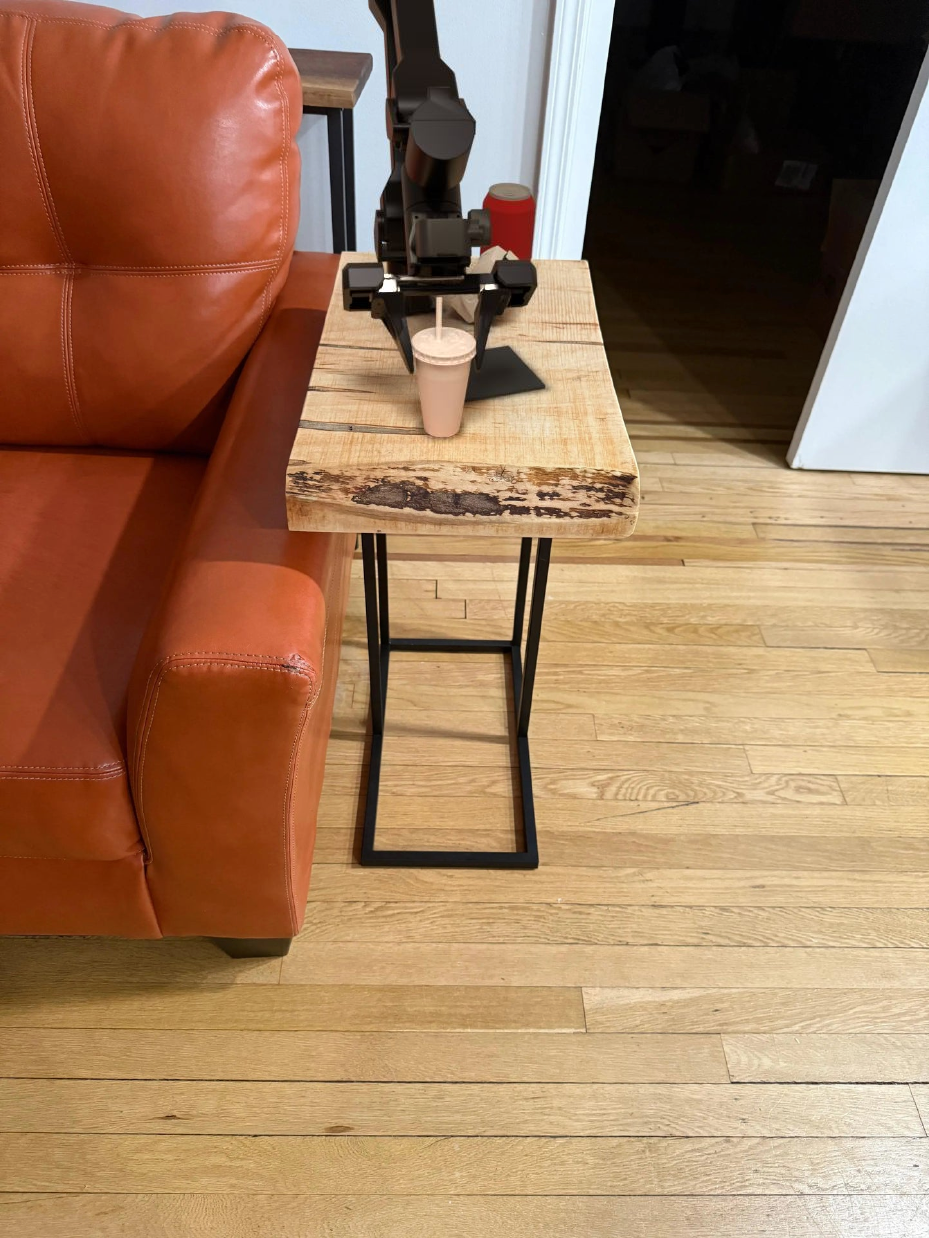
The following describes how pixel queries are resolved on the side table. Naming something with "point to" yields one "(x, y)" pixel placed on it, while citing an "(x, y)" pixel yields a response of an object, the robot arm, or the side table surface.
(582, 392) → the side table surface
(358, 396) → the side table surface
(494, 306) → the robot arm
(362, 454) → the side table surface
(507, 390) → the coaster
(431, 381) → the smoothie
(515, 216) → the beverage can
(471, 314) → the tape dispenser
